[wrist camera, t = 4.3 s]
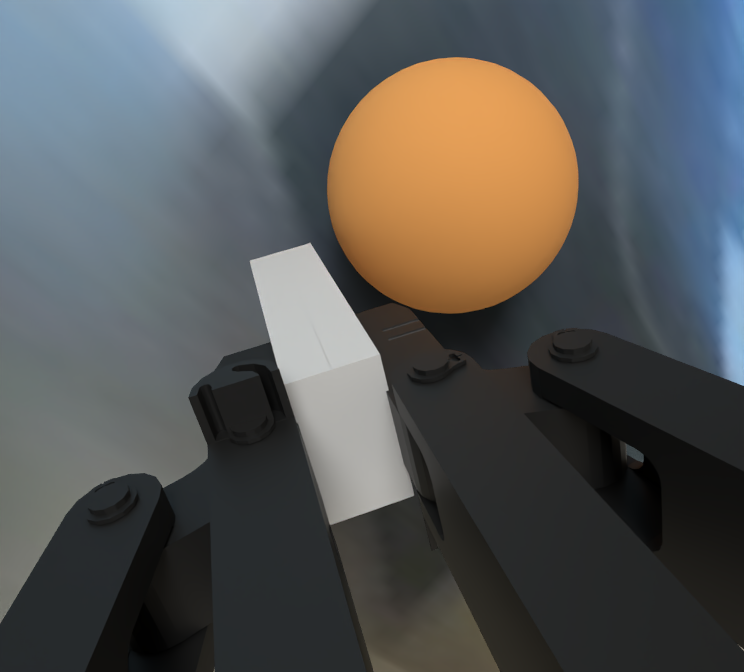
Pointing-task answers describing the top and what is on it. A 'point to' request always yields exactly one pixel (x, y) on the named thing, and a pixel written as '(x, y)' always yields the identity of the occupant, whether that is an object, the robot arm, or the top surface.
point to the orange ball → (452, 185)
